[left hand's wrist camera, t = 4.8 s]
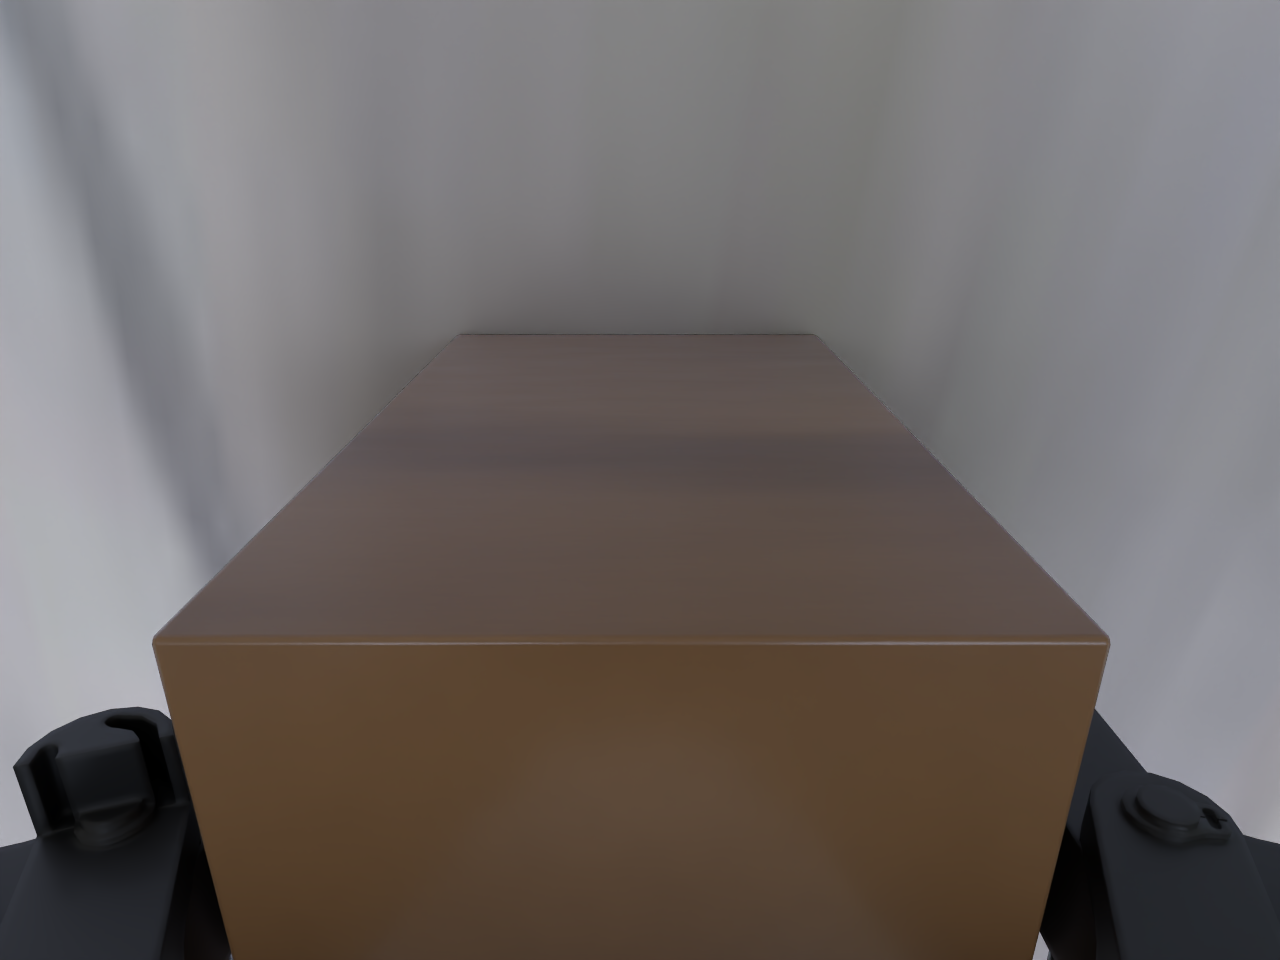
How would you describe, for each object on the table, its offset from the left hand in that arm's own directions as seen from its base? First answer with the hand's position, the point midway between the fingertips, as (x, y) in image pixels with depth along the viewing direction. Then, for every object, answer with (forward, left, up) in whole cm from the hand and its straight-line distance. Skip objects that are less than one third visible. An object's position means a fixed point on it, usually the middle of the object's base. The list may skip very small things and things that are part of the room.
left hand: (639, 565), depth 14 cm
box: (+2, +8, -1) cm, 8 cm away
